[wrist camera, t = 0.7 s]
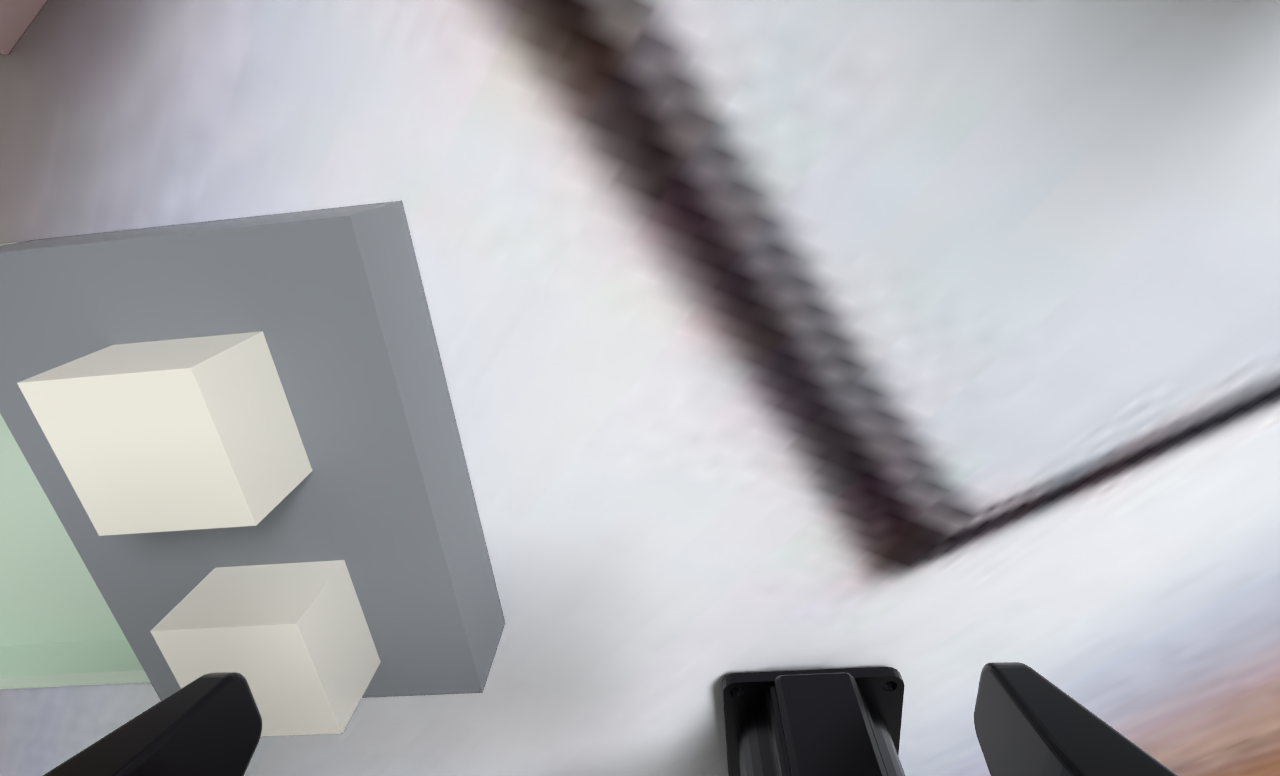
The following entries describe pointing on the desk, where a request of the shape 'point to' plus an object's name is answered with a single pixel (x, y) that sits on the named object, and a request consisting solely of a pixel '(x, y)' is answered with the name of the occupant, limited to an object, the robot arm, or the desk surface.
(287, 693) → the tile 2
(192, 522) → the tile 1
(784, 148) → the desk surface
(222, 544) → the gray rectangular block
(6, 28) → the greeting card
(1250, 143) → the desk surface
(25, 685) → the box
